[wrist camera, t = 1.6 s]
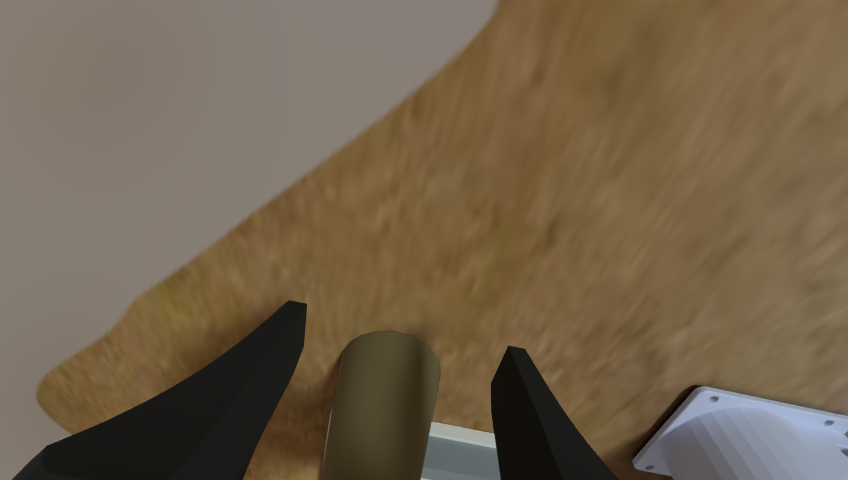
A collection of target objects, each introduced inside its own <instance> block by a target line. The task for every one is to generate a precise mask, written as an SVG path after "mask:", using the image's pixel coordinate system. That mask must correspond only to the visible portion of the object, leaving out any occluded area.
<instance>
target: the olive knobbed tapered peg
mask: <svg viewBox="0 0 848 480" xmlns="http://www.w3.org/2000/svg"><path fill="white" fill-rule="evenodd" d="M440 375H441V374H440V363H439V361H438V359H437V357H436V355H435V353H434V352H433V351H432V350H431V349H430V348H429V347H428V346H427V345H426V344H425V343H423V342H421V341H419V340H418V339H416V338H414V337H412V336H410V335H406V334H402V333H398V332H394V331H376V332H372V333H368V334H364V335H361V336H359V337H358V338H356V339H354V340H353V341H351V342H350V343H349V344H348V345H347V346H346V348H345V349H344V350H343V352H342V355H341V360H340V365H339V371H338V377H337V383H336V389H335V395H334V401H333V407H332V413H331V419H330V425H329V432H328V438H327V444H326V450H325V456H324V462H323V468H322V474H321V480H421V475H422V470H423V465H424V459H425V454H426V449H427V444H428V438H429V433H430V428H431V423H432V417H433V412H434V407H435V402H436V396H437V391H438V386H439V381H440Z"/></svg>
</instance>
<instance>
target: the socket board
mask: <svg viewBox="0 0 848 480" xmlns="http://www.w3.org/2000/svg"><path fill="white" fill-rule="evenodd" d="M331 413H332V410H331ZM331 413H330V419H331ZM330 419H329V425H330ZM328 432H329V426H328ZM327 438H328V433H327ZM326 444H327V440H326ZM325 450H326V447H325ZM324 456H325V453H324ZM323 462H324V460H323ZM322 468H323V467H322ZM421 480H501V478H500V471H499V464H498V457H497V449H496V442H495V435H494V433H489V432H483V431H478V430H473V429H468V428H463V427H458V426H453V425H448V424H443V423H438V422H432V423H431V428H430V433H429V438H428V444H427V449H426V454H425V459H424V465H423V470H422V475H421Z"/></svg>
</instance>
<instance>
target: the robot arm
mask: <svg viewBox="0 0 848 480" xmlns="http://www.w3.org/2000/svg"><path fill="white" fill-rule="evenodd" d="M306 312H307V304H305V303H300V302H295V301H290V300H289V301H288V302H286V303H285V304H284V305H283V306H282V307H281V308H279V309H278V310H277V311H276V312H275V313H274V314H273V315H272V316H271V317H269V318H268V319H267V320H266V321H265V322H264V323H262V324H261V325H260V326H259V327H258V328H257V329H255V330H254V331H253V332H252V333H250V334H249V335H248V336H247V337H245V338H244V339H243V340H242V341H240V342H239V343H238V344H236V345H235V346H234V347H232V348H231V349H230V350H228V351H227V352H226V353H224V354H223V355H221V356H220V357H219V358H217V359H216V360H214V361H213V362H212V363H210V364H209V365H207V366H206V367H204V368H203V369H201V370H199V371H198V372H196V373H195V374H193V375H192V376H190V377H188V378H187V379H185V380H183V381H182V382H180V383H178V384H177V385H175V386H173V387H171V388H170V389H168V390H166V391H164V392H163V393H161V394H159V395H157V396H155V397H153V398H152V399H150V400H148V401H146V402H144V403H142V404H140V405H138V406H136V407H134V408H132V409H130V410H128V411H126V412H124V413H122V414H120V415H117V416H115V417H113V418H111V419H109V420H107V421H105V422H103V423H100V424H98V425H96V426H94V427H91V428H89V429H86V430H84V431H82V432H79V433H77V434H74V435H72V436H70V437H67V438H65V439H63V440H60V441H58V442H55V443H53V444H50V445H47V446H46V447H45V448H44V449H43V450H42V451H41V452H40V453H39V454H38V455H36V456H35V457H34V458H33V459H32V460H31V461H30V462H29V463H28V464H27V465H26V466H25V467H24V468H23V469H22V470H21V471H20V472H19V473H18V474H17V475H16V476H15V477H14V478H13V479H12V480H242V479H243V477H244V475H245V472H246V470H247V467H248V465H249V462H250V460H251V458H252V455H253V453H254V450H255V448H256V446H257V444H258V442H259V439H260V437H261V435H262V433H263V431H264V429H265V427H266V425H267V424H268V422H269V420H270V418H271V416H272V414H273V412H274V410H275V408H276V406H277V404H278V402H279V400H280V399H281V397H282V395H283V393H284V391H285V389H286V387H287V385H288V383H289V381H290V379H291V377H292V375H293V373H294V371H295V368H296V365H297V363H298V360H299V358H300V355H301V352H302V350H303V347H304V337H305V325H306ZM491 413H492V421H493V428H494V435H495V442H496V449H497V457H498V464H499V471H500V478H501V480H619V479H618V478H617V477H616V476H615V475H614V474H613V473H612V472H611V470H610V469H609V468H608V467H607V466H606V465H605V464H604V462H603V461H602V460H601V459H600V458H599V456H598V455H597V454H596V453H595V452H594V450H593V449H592V448H591V447H590V445H589V444H588V443H587V442H586V440H585V439H584V438H583V437H582V435H581V434H580V433H579V431H578V430H577V429H576V427H575V426H574V424H573V423H572V422H571V420H570V419H569V418H568V416H567V415H566V413H565V412H564V410H563V409H562V407H561V406H560V404H559V403H558V401H557V400H556V398H555V397H554V395H553V394H552V392H551V391H550V389H549V387H548V386H547V384H546V383H545V381H544V379H543V378H542V376H541V374H540V373H539V371H538V370H537V368H536V366H535V365H534V363H533V361H532V360H531V358H530V356H529V355H528V353H527V351H526V350H525V349H523V348H518V347H513V346H508V348H507V350H506V352H505V354H504V356H503V358H502V361H501V363H500V365H499V367H498V369H497V371H496V374H495V376H494V378H493V380H492V382H491ZM847 431H848V417H847V416H844V415H840V414H835V413H830V412H825V411H821V410H816V409H811V408H806V407H801V406H797V405H792V404H787V403H782V402H778V401H773V400H768V399H763V398H758V397H754V396H749V395H744V394H739V393H735V392H730V391H725V390H720V389H716V388H711V387H705V386H702V387H698V388H696V389H695V390H694V391H693V392H692V393H691V394H690V395H689V396H688V397H687V398H686V400H685V401H684V402H683V403H682V404H681V405H680V406H679V408H678V409H677V410H676V411H675V412H674V413H673V414H672V416H671V417H670V418H669V419H668V420H667V421H666V422H665V423H664V425H663V426H662V427H661V428H660V429H659V430H658V431H657V433H656V434H655V435H654V436H653V437H652V438H651V439H650V441H649V442H648V443H647V444H646V445H645V446H644V447H643V448H642V450H641V451H640V452H639V453H638V454H637V455H636V456H635V458H634V459H633V460H632V463H633V465H634V467H635V468H636V469H638V470H642V471H647V472H652V473H657V474H663V475H668V476H672V478H673V480H848V438H847V437H846V436H845V435H844V434H845V433H846V432H847Z"/></svg>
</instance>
